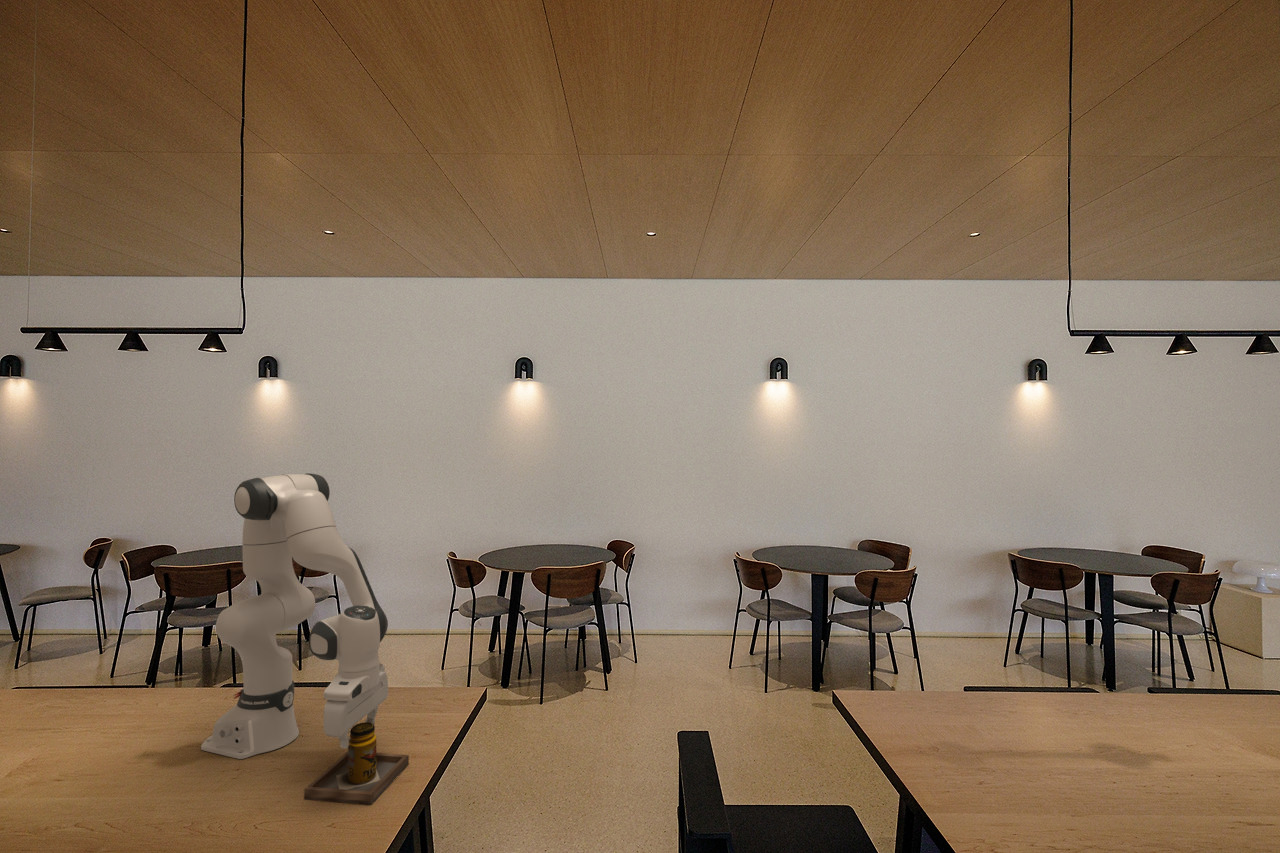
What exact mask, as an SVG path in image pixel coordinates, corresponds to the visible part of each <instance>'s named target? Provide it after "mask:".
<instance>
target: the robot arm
mask: <svg viewBox="0 0 1280 853" xmlns="http://www.w3.org/2000/svg"><path fill="white" fill-rule="evenodd" d="M235 489H236V490H235V493H234V498H233V500H234V502H233V503H234V507H235V510H236V511H237V514H239V515H240V516H241V517H242V518H244V519H243V527H242V571H243V574H244V575H245V576H246V577H247V578H249V579H250V580H254V581H256V582H258V584H259V587H260V591H261V592H260V593H261V594H259V595H256V596H253V597H249V598H246V599H242V600H239V601H238V602H236V603H234V604H231V605H230V606H228V607H226V608H225V609H223V610H222V611H221V612H220V613H219V615H218V617H217V619H216V622H215V632H216V635H217V637H218V638H219V640H220V641H221V642H222V643H224V644H225V645H227V646H229V647H232V648H233V649H234V650H235V651H236V652H237V653H238V655H239V657H240V659H241V664H242V673H243V674H242V676H243V677H242V678H243V679H242V680H243V681H242V682H243V688H242V689H240V691H238V692H236V693H235V694H233V696H234V697H233V700H236V699H238V700H237V703H236V704H235V705H234V706H232V707H231V708H230V709H228V710H227V711H226V712H225V713H224V714H222V715H221V716H220V717H219V718H218V719H217V720H216V722H215V723H214V725H213V729H212V735H211V736H209V737H208V738H206V739H205V740H204V741H203V742H202V743H201V745H200V746H201V747H200V750H201V751H205V752H209V753H212V754H217V755H221V756H225V757H230V758H234V759H237V760H243V759H247V758H249V757H252V756H255V755H258V754H263V753H267V752H272V751H274V750H277V749H280V748H283V747H285V746H286V745H288V744H290V743H292V742H293V741H294V740H296V738H298V736H299V734H300V731H299V727H298V724H297V719H296V714H295V709H294V708H295V706H294V699H295V682H294V680H293V654H292V653H291V651H290V650H289V649H287V648H286V647H282V646H280V645H278V643H277V634H278V633H280V632H283V631H285V630H288V629H292V628H294V627H296V626H297V625H299V624H302V622H304V621H305V620H307V619H308V618H310V617H311V616H313V613H314V611H315V609H316V599H315V595H314V593H313V592H312V591H311V590H310V589H309V588H308V587H306V586H305V585H303V584H302V583H301V582H300V580H299V579H298V576H297V575H296V573H295V569H294V565H293V561H294V562H296V563H297V564H298V565H300V566H302V567H303V568H306V569H309V570H312V571H318V572H325V573H327V574H328V573H329V574H332V575H334V576H336V577H338V578H339V579H340V580H341V581H342V583H343V585H344V587H345V590H346V592H347V594H348V597H349V599H350V603H351V604H352V606H350V607H347V608H345V609H344V610H343V611H341V613H338V614H336V615H334V616H330V617H327V618H324V619H321V620H319V621H317V622H316V623H315V624H314V625H313V626H312V628H311V630H310V633H309V637H308V646H309V650H310V652H311V653H312V655H313V656H315V657H316V658H317V659H319V660H322V661H323V660H324V661H334V660H336V661H337V662H338V669H337V671H338V672H337V673H336V674H335V676H334V678H333V679H332V681H331V682H330V684H329V685H327V687H326V688H325V689H324V690H323V700H327V701H326V702H325V705H324V708H323V733H324V734H325V735H326V736H327V737H332V738H337V739H338V740H339V741H340V742H339V746H340V748H341V749H348V747H349V746H350V745H351V738H350V737H349V736H348V734H349V733H350V730H351V728H352V727H353V726H355V725H356V724H359V723H360V721H362V719H364V718H365V717H366V718H365V719H364V722H370V723H373V724H374V725H375V724H376V717H377V713H378V710H379V706H380V705H381V704H382V703H383V702H384V701H386V700H387V698H388V695H389V682H388V674H387V672H386V670H385V665H384V664H383V663H381V661H380V660H381V659H380V657H379V650H380V646H381V642H382V641H383V640H384V638H385V635H386V633H387V631H388V627H389V623H388V622H389V621H388V620H389V619H388V618H387V615H386V614H385V612H384V610H383V608H382V606H381V605H380V604H379V602H378V600H377V598H376V596H375V593H374V591H373V588H372V586H371V584H370V581H369V579H368V577H367V574H366V571H365V570H364V567H363V565H362V563H361V561H360V558H359V556H358V554H357V553H356V551H355V550H354V549H353V548H351V547H349V546H348V545H347V544H346V543H345V542H344V540H342V538H341V536H340V534H339V532H338V528H337V525H336V521H335V518H334V514H333V511H332V509H331V506H330V504H329V500H330V491H331V490H330V486H329V483H328V481H327V479H326V478H325V477H324V476H322V475H320V474H316V473H304V474H302V473H285V474H280V475H273V476H267V477H266V476H265V477H261V478H260V477H254V478H249V479H247V480H244V481H242V482H240V484H238V486H237V487H236V488H235Z"/></svg>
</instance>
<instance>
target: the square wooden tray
mask: <svg viewBox="0 0 1280 853" xmlns="http://www.w3.org/2000/svg"><path fill="white" fill-rule="evenodd" d="M409 756H410V755H409V754H399V753H383V752H376V769H377V772H378V775H379V778H380V780H379V781H377V782H373V783H370V784H366V785H363V786H359V787H355V788H352V789H348V790H344V789H339V786H338V782H337V777H336V775H340V774H344V773H348V751H346V752H345V753H344V754H343V755H342V756H340V758H338V759H337V760H336V761H335V762H334V763H332V764H331V765H330V766H329V767H328V768H327V769H325V771H323V772H322V773H321V774H320V775H319V776H318V777H316V779H314V780H313V781H311V782H310V784H308V785H307V786H306V787H305V788H304V790H303V791H304V792H303V793H304V797H303V799H304V801H306V800H307V801H317V802H318V801H321V802H331V803H332V802H333V803H343V804H351V805H353V804H354V805H365V806H372V805H373V804H374V803H375V802H376V801H377V799H378V798H379V797H381V795H382V794H383V793H384V792H385V791H386V790H387V789H388V788H389V786H391V784H392V783H393V782H394V781H395V780H396V779H397V778H398V777H399V776H400V775H401V773H402V772H403V771H405V769H406V768H407V767H408V766H409V763H410V762H409ZM398 775H399V776H398ZM397 776H398V777H397ZM396 777H397V778H396ZM395 778H396V779H395ZM394 779H395V780H394ZM393 780H394V781H393Z"/></svg>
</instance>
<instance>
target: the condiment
mask: <svg viewBox="0 0 1280 853" xmlns="http://www.w3.org/2000/svg"><path fill="white" fill-rule="evenodd" d="M375 728H376V726H375V724H373V723H370V722H365V721H364V722H358V723H356V724H355V725H354V726H353V727H351V728H350V729H349V733H350V734H349V738H351V745H350V746H349V747H348V748H347V752H348V773H344V774H340V775H336V777H337V782H338V786H339V789H344V790H348V789H352V788H355V787H359V786H363V785H366V784H370V783H373V782H377V781H379V780H380V778H379V775H378V772H377V769H376V753H377V735H376V734H375V733H376V731H375Z"/></svg>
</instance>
